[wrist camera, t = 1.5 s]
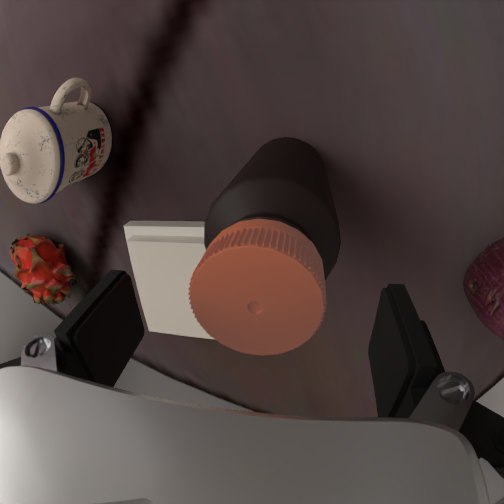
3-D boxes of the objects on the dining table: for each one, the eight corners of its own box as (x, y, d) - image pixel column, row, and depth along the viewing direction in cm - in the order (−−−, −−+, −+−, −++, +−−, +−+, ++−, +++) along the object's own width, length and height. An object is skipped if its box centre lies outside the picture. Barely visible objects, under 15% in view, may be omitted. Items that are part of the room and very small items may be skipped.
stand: (256, 222, 31) (251, 235, 29) (259, 332, 38) (255, 349, 35) (130, 220, 33) (116, 231, 31) (152, 321, 40) (143, 335, 37)
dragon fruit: (96, 281, 41) (45, 228, 40) (85, 262, 33) (28, 201, 33) (58, 325, 37) (9, 268, 36) (38, 316, 29) (-15, 248, 29)
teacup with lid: (97, 192, 32) (27, 235, 22) (46, 153, 31) (-26, 183, 21) (141, 97, 27) (64, 106, 17) (82, 62, 26) (0, 65, 15)
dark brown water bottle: (247, 138, 28) (145, 218, 10) (323, 136, 26) (362, 214, 9) (253, 208, 31) (183, 365, 13) (324, 207, 29) (343, 374, 12)
